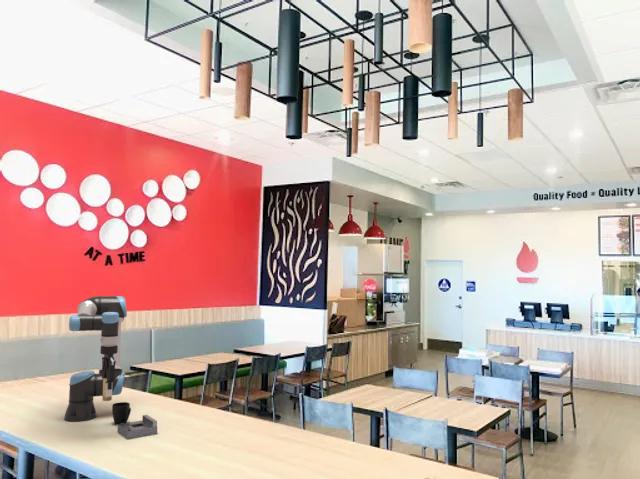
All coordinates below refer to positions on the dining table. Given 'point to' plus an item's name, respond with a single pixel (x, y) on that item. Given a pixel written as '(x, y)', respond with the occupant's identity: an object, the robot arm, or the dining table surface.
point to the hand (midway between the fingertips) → (107, 395)
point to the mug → (121, 412)
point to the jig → (138, 428)
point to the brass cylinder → (105, 391)
